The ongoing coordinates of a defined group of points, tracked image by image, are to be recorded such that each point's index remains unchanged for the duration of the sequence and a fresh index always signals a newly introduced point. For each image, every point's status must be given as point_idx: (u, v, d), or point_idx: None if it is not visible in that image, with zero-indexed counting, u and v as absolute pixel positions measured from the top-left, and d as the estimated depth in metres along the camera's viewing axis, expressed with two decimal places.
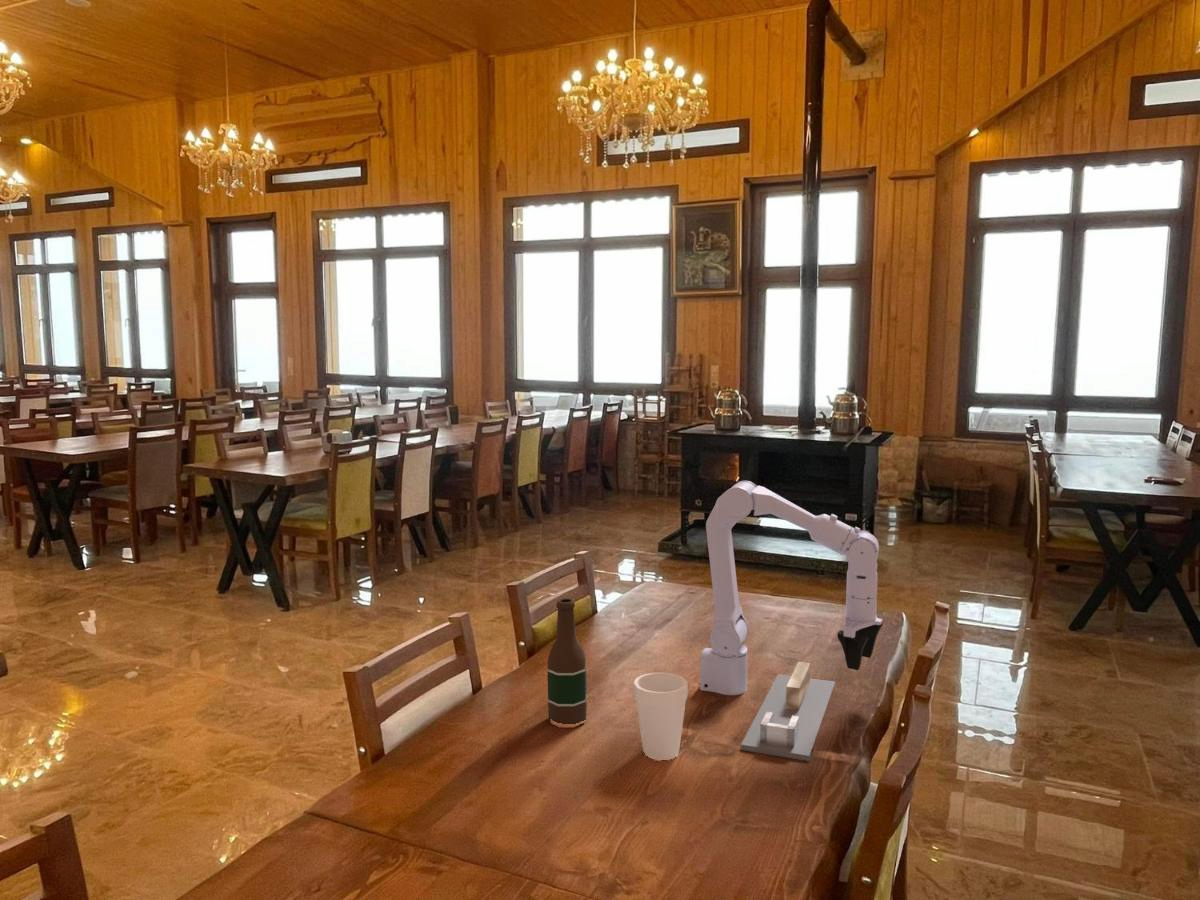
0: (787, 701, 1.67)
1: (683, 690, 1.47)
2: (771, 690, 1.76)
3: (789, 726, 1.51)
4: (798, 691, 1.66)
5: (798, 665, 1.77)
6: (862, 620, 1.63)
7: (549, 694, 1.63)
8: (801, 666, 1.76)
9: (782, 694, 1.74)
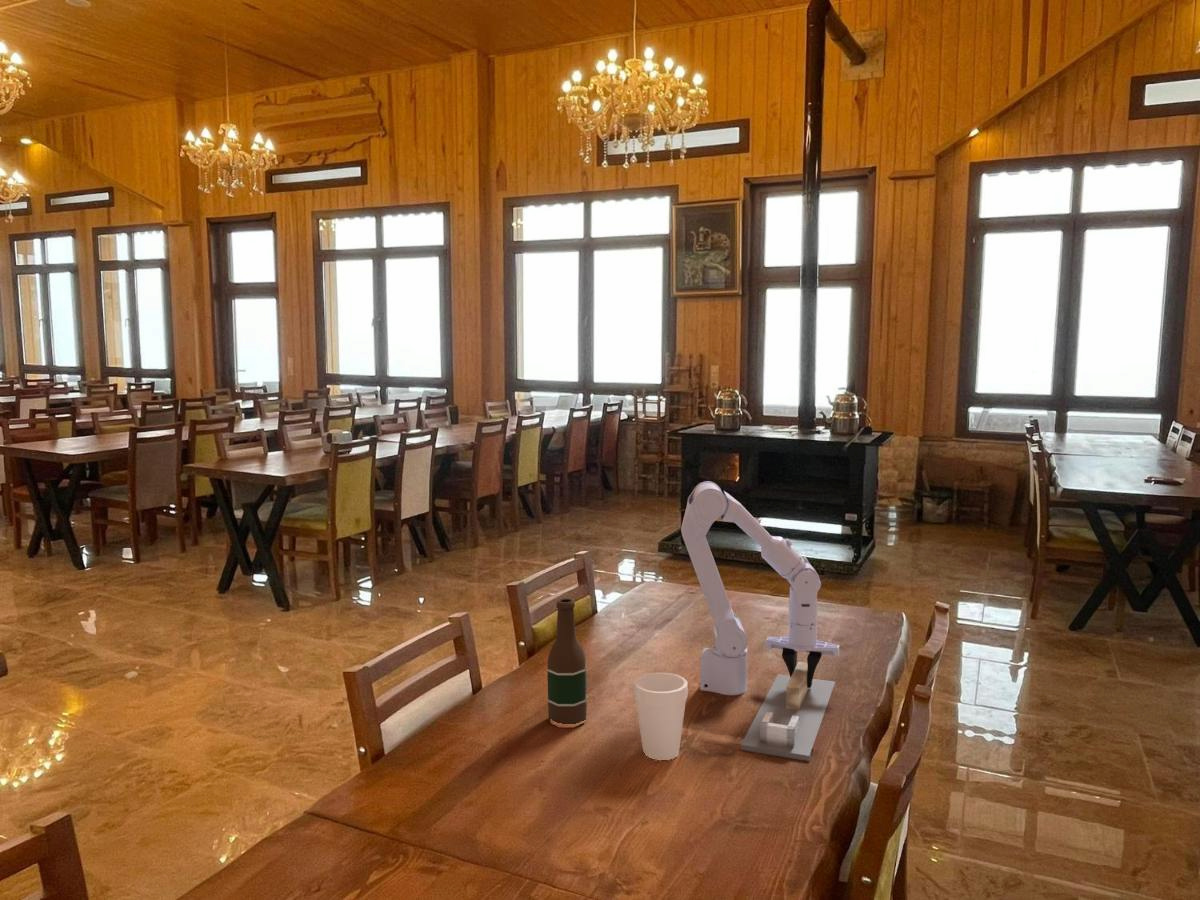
0: (787, 701, 1.67)
1: (683, 690, 1.47)
2: (771, 690, 1.76)
3: (789, 726, 1.51)
4: (798, 691, 1.66)
5: (798, 665, 1.77)
6: (788, 641, 1.75)
7: (549, 694, 1.63)
8: (801, 666, 1.76)
9: (782, 694, 1.74)
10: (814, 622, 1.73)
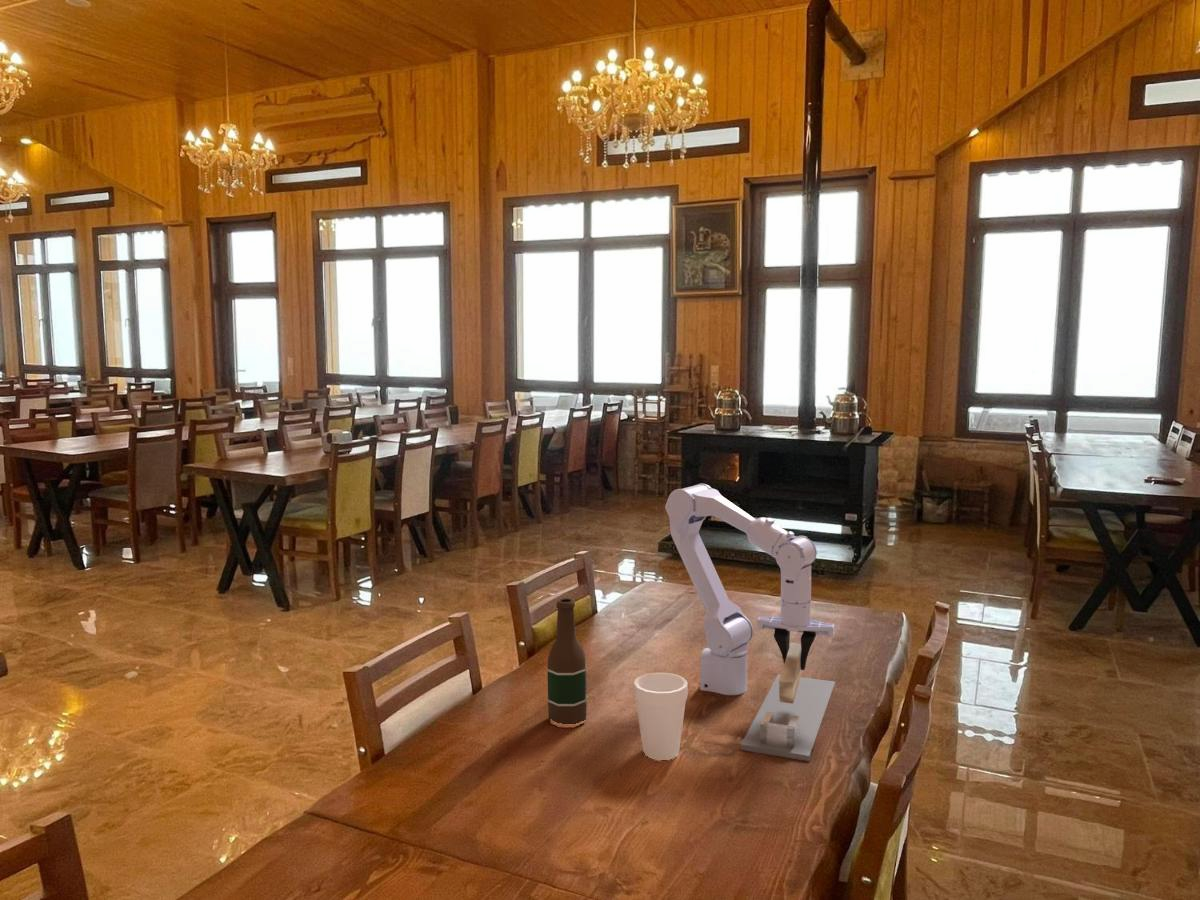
0: (780, 695, 1.58)
1: (683, 690, 1.47)
2: (771, 690, 1.76)
3: (789, 726, 1.51)
4: (791, 685, 1.56)
5: (791, 648, 1.67)
6: (780, 621, 1.66)
7: (549, 694, 1.63)
8: (793, 649, 1.67)
9: None
10: (800, 601, 1.62)
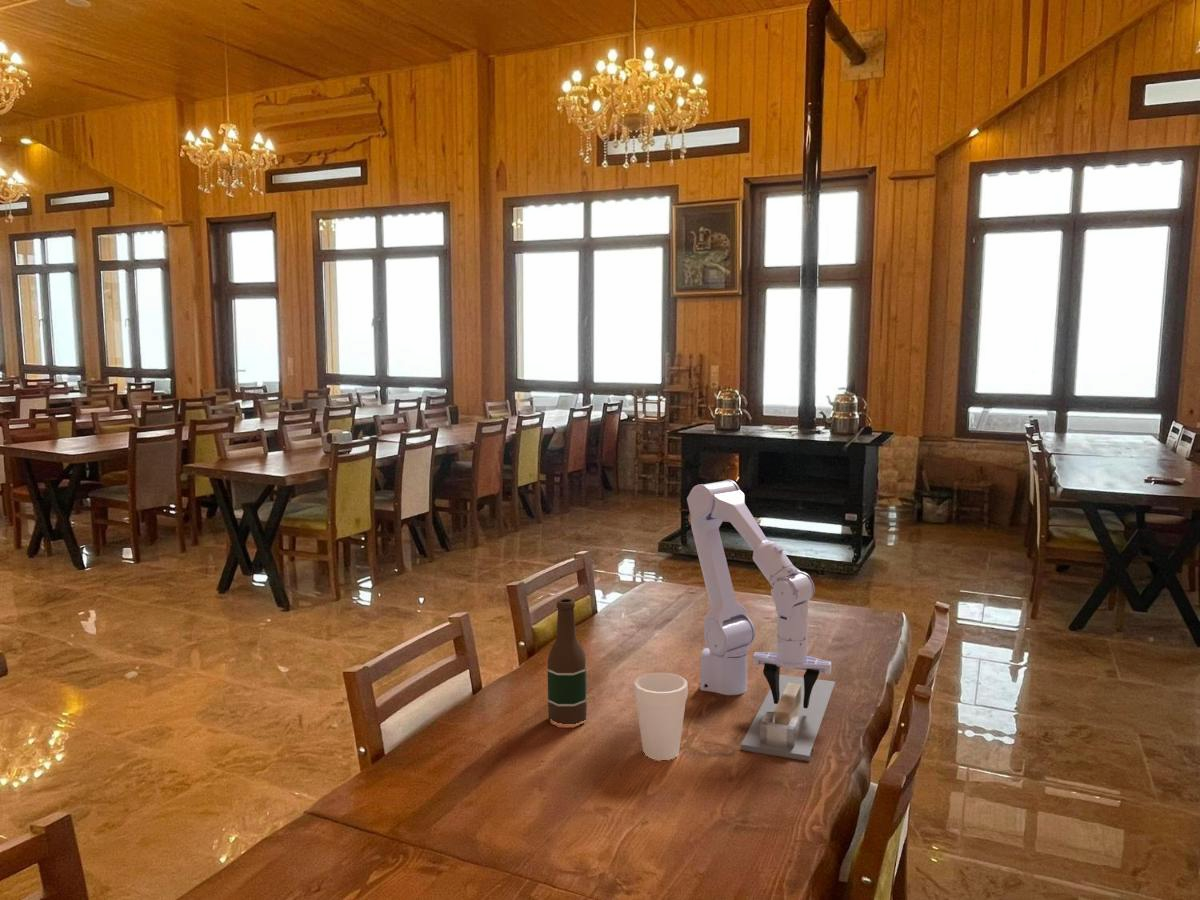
0: None
1: (683, 690, 1.47)
2: None
3: (789, 726, 1.51)
4: (787, 716, 1.55)
5: (788, 686, 1.66)
6: (777, 657, 1.64)
7: (549, 694, 1.63)
8: (791, 688, 1.65)
9: None
10: (793, 638, 1.60)
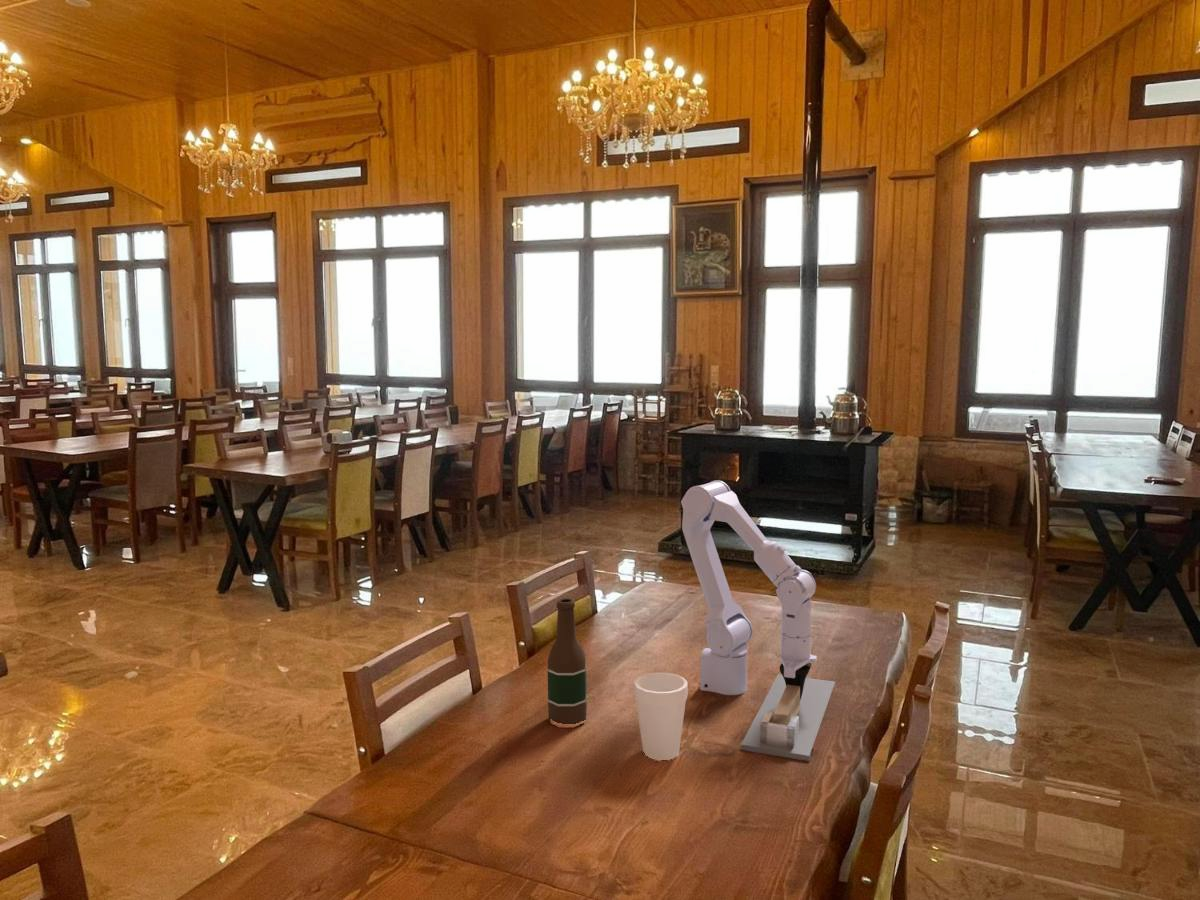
0: None
1: (683, 690, 1.47)
2: (771, 690, 1.76)
3: (789, 726, 1.51)
4: (786, 718, 1.54)
5: (787, 688, 1.65)
6: (799, 659, 1.65)
7: (549, 694, 1.63)
8: (790, 690, 1.64)
9: (782, 694, 1.74)
10: (801, 635, 1.64)
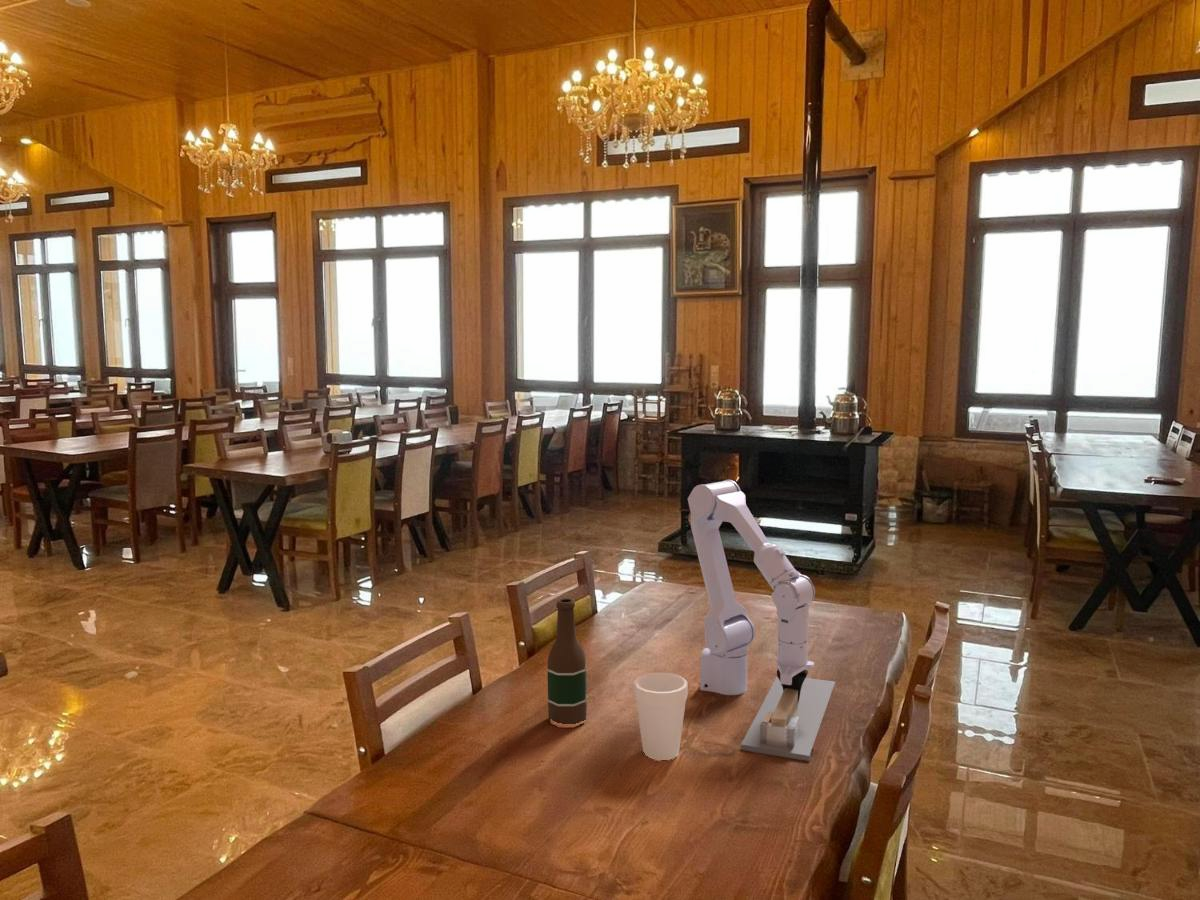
0: None
1: (683, 690, 1.47)
2: (771, 690, 1.76)
3: (789, 726, 1.51)
4: (784, 723, 1.52)
5: (784, 692, 1.63)
6: (796, 665, 1.62)
7: (549, 694, 1.63)
8: (787, 694, 1.63)
9: None
10: (795, 641, 1.61)
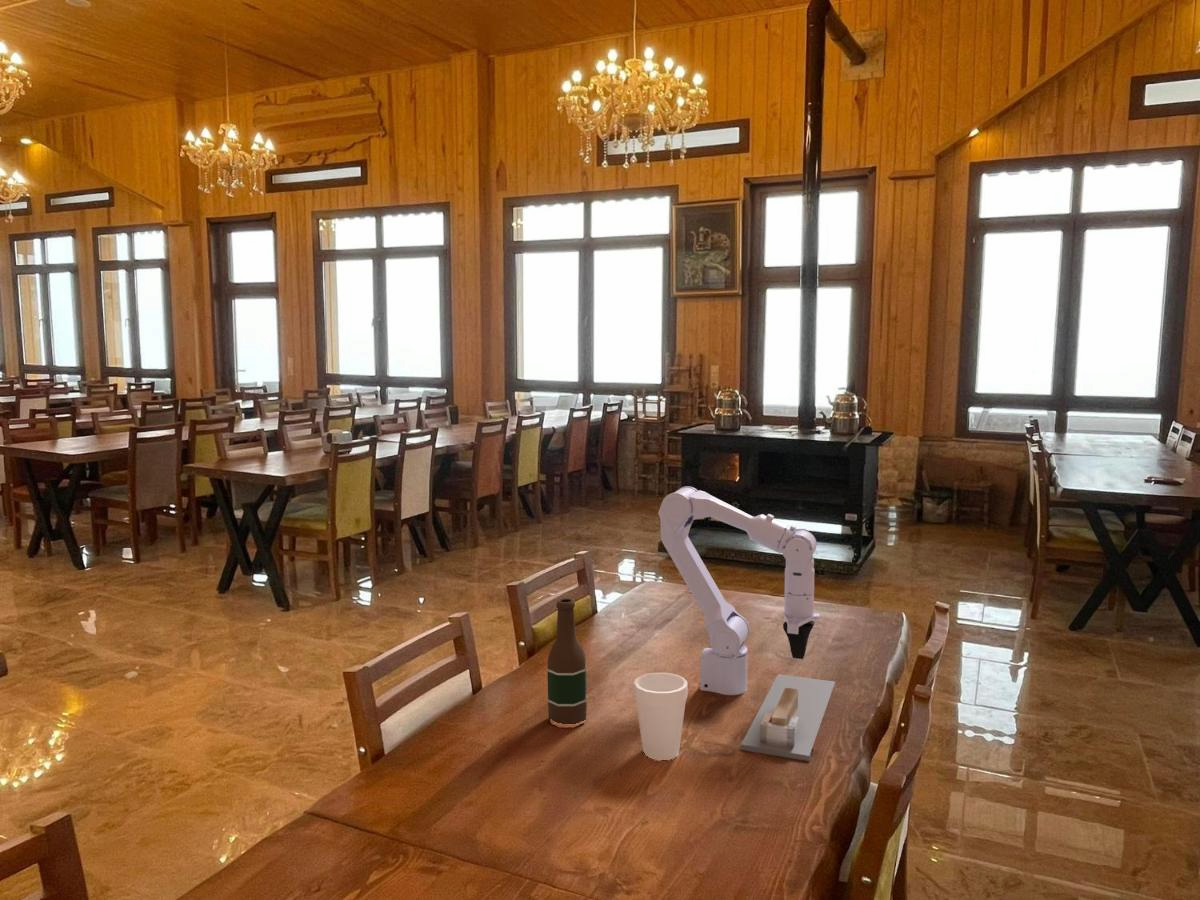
0: None
1: (683, 690, 1.47)
2: (771, 690, 1.76)
3: (789, 726, 1.51)
4: (784, 722, 1.52)
5: (785, 692, 1.64)
6: (802, 616, 1.67)
7: (549, 694, 1.63)
8: (788, 693, 1.63)
9: None
10: (807, 593, 1.67)
